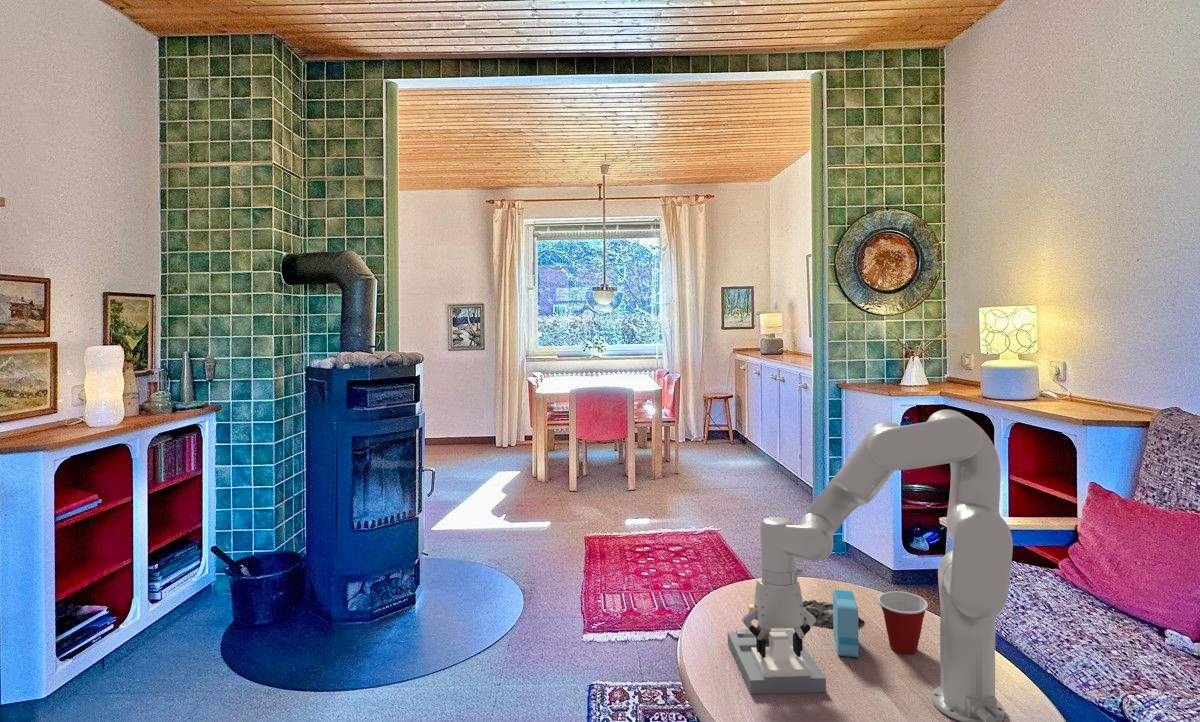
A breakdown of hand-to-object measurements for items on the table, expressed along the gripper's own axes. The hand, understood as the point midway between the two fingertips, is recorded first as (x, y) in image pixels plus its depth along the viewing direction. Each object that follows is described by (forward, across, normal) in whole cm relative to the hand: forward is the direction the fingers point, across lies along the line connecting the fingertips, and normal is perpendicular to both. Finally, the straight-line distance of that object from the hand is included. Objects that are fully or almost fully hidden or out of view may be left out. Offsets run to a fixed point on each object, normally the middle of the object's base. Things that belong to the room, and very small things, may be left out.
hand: (779, 653), depth 138 cm
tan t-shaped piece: (+2, +2, -10) cm, 10 cm away
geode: (+6, -21, -30) cm, 37 cm away
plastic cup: (+6, -33, -11) cm, 35 cm away
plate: (+5, 0, -5) cm, 7 cm away
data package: (+6, -20, -13) cm, 25 cm away
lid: (+2, 0, 0) cm, 2 cm away
